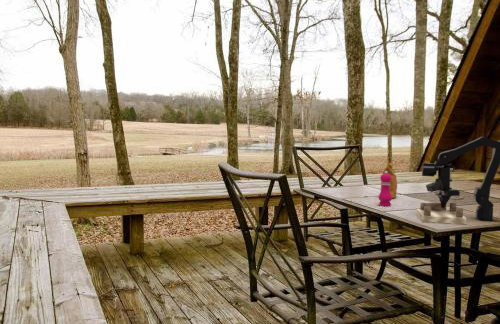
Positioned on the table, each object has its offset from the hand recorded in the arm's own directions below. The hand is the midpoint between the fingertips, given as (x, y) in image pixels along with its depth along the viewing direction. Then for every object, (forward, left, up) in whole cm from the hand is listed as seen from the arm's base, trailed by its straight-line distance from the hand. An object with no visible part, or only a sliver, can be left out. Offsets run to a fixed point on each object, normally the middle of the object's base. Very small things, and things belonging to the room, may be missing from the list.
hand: (443, 207), depth 210 cm
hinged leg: (+5, -2, -1) cm, 5 cm away
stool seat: (+2, +6, -4) cm, 8 cm away
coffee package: (+22, -53, -5) cm, 57 cm away
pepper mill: (+26, -24, -5) cm, 36 cm away
